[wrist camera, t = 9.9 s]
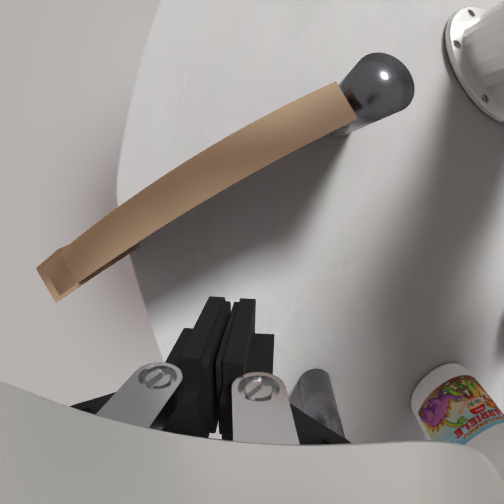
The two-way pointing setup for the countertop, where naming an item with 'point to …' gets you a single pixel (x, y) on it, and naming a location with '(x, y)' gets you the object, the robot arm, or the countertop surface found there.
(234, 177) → the walnut gate
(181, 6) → the countertop surface
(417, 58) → the countertop surface
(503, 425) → the milk bottle
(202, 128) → the countertop surface
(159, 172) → the countertop surface
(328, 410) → the post
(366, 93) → the hinge post
